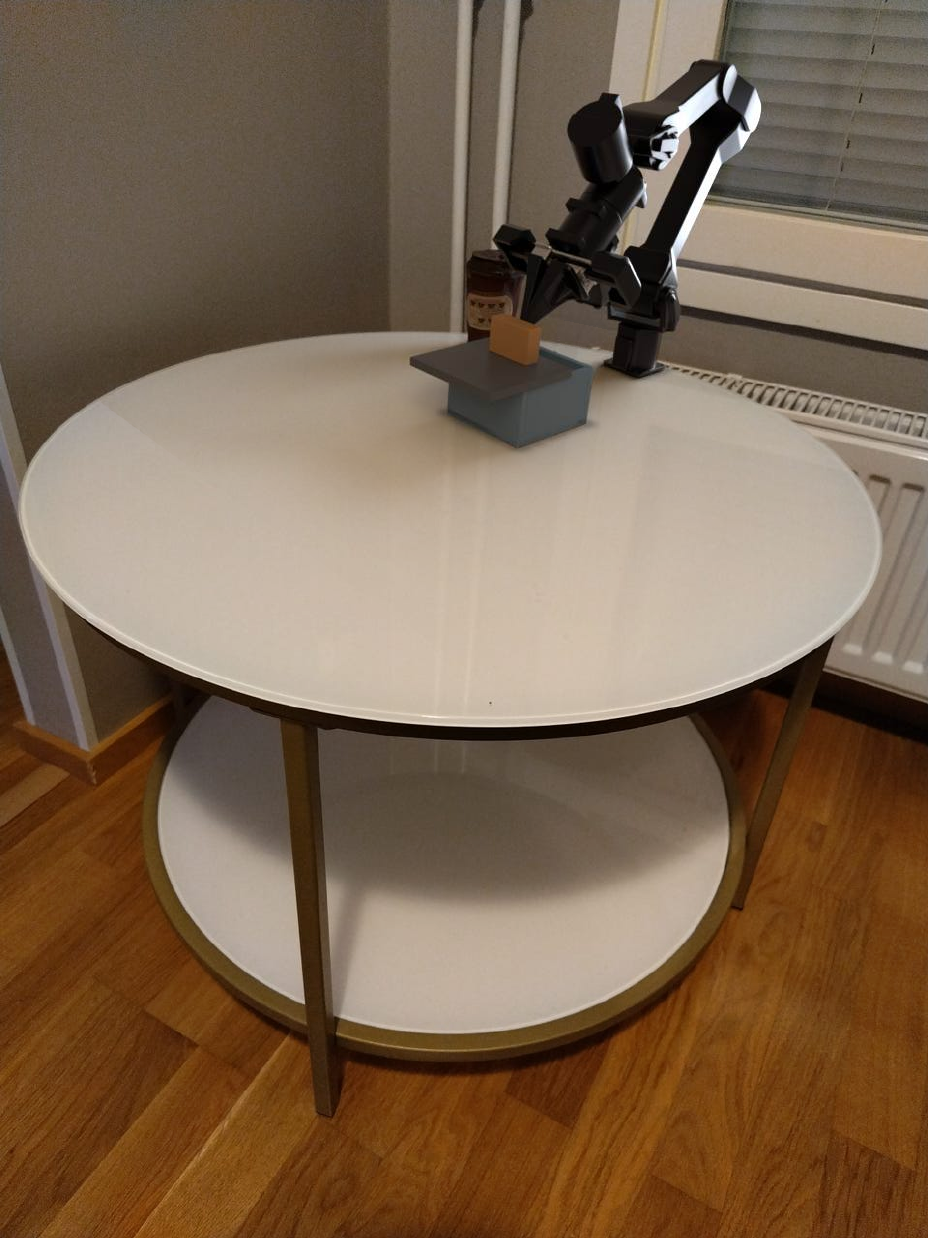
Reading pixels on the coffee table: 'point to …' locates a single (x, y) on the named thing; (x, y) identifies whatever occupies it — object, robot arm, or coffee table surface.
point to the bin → (529, 406)
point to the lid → (495, 361)
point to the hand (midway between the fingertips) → (523, 326)
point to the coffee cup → (489, 291)
